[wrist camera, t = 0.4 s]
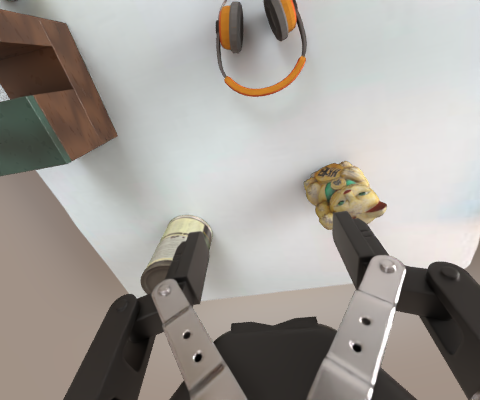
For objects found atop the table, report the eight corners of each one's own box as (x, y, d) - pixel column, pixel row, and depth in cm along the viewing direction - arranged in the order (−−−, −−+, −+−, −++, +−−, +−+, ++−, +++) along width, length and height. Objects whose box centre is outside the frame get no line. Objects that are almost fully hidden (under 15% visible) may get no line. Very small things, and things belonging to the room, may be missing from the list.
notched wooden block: (5, 39, 33) (-118, 28, 22) (66, 23, 32) (-33, 1, 21) (67, 145, 41) (-1, 176, 30) (118, 135, 40) (67, 164, 29)
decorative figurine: (344, 148, 40) (390, 189, 27) (363, 182, 43) (412, 234, 30) (295, 178, 43) (315, 228, 30) (317, 208, 46) (343, 264, 33)
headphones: (319, -153, 22) (338, 74, 28) (308, -101, 27) (326, 82, 33) (159, -88, 25) (206, 107, 30) (176, -52, 30) (214, 110, 35)
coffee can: (222, 235, 51) (214, 290, 39) (191, 257, 54) (174, 312, 42) (188, 205, 47) (166, 255, 35) (157, 230, 51) (127, 283, 39)
